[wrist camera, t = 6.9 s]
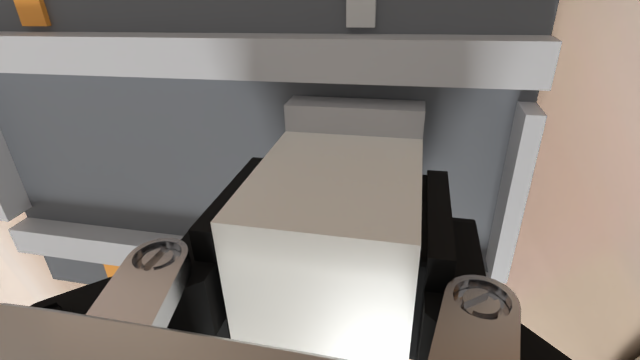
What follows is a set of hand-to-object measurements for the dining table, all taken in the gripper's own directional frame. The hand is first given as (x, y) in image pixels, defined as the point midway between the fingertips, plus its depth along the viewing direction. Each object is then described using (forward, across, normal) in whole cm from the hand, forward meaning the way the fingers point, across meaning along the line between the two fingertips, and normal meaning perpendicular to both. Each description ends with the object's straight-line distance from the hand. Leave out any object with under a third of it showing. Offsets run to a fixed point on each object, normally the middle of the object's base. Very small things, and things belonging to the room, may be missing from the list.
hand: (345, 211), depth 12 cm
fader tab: (+2, 0, 0) cm, 2 cm away
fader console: (+4, +5, 0) cm, 7 cm away
